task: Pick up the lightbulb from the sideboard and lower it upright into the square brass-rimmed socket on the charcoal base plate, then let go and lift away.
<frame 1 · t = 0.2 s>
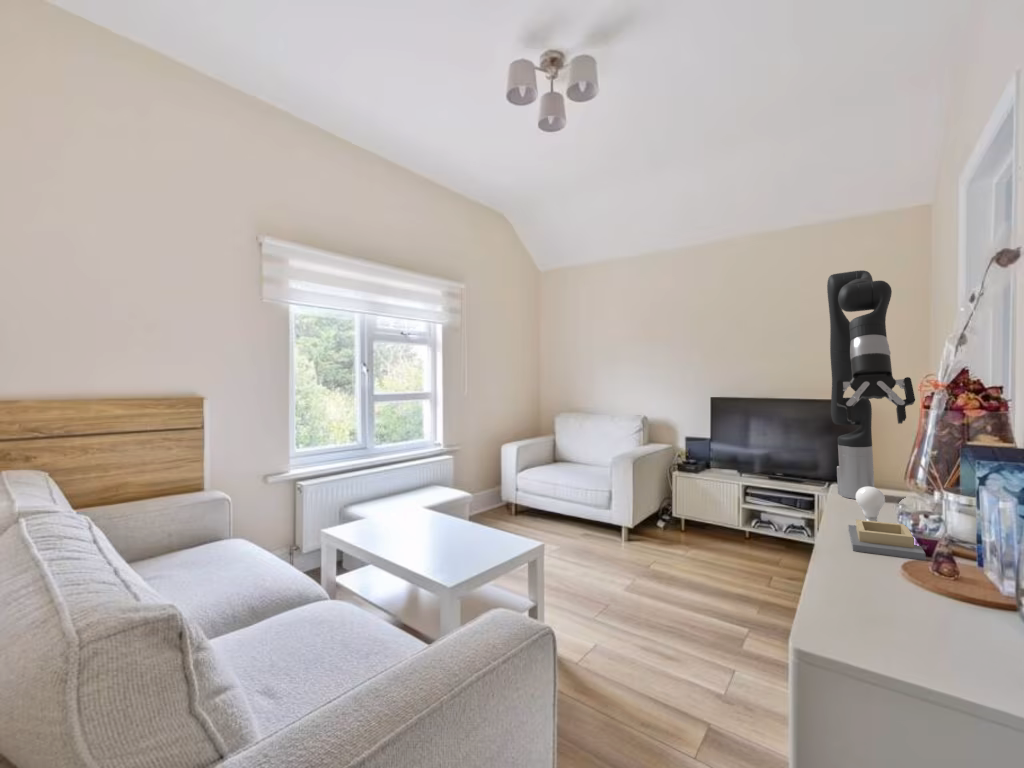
hand: (876, 423, 105), 31 cm above the sideboard, tool tilted 20°, fingers open, 8 cm apart
bulb socket: (883, 543, 111), on the sideboard
lightbulb: (871, 527, 123), on the sideboard
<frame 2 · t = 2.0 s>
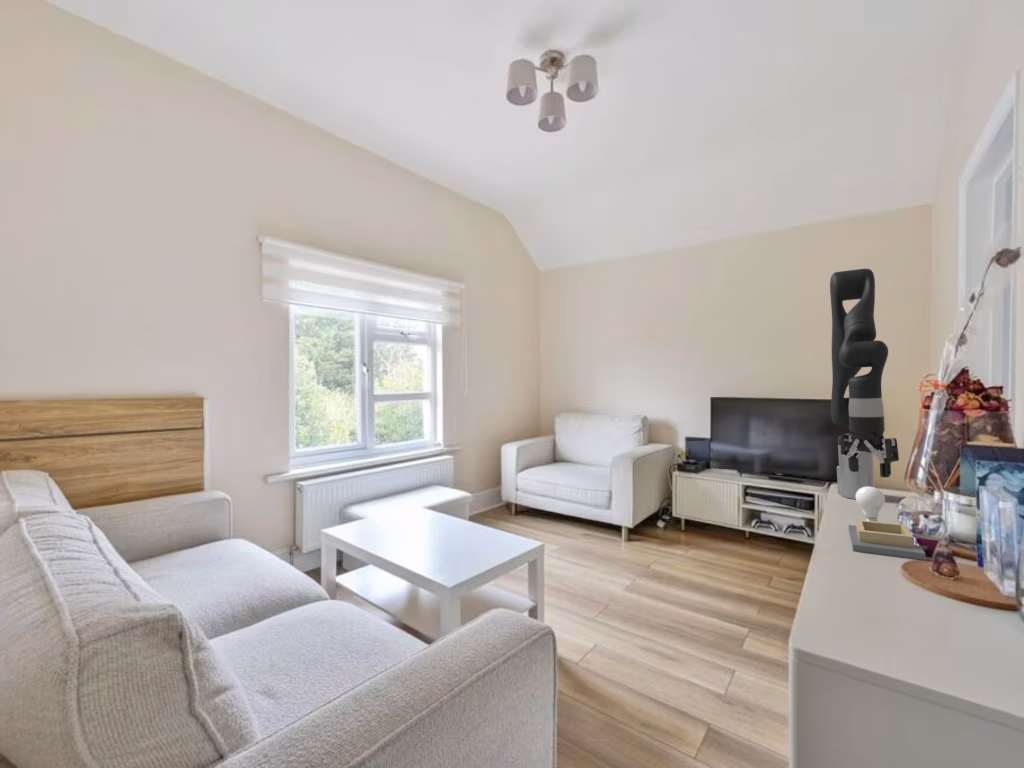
hand: (869, 474, 123), 14 cm above the sideboard, tool pointing down, fingers open, 8 cm apart
nothing on the sideboard moved.
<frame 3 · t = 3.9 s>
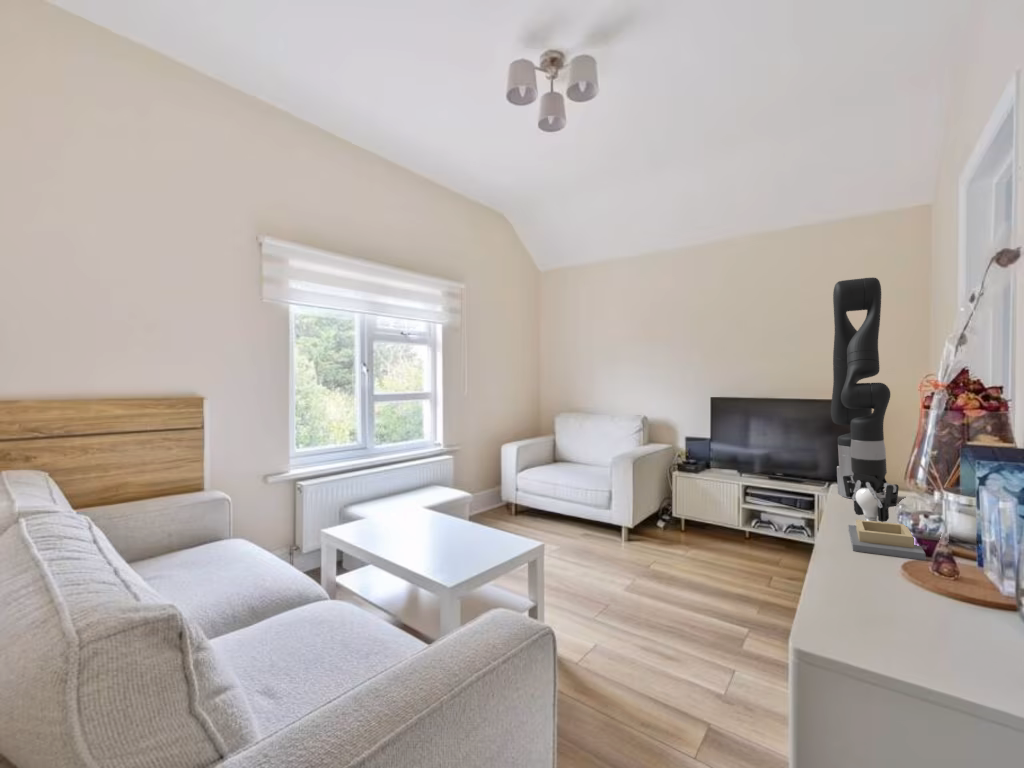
hand: (871, 517, 123), 3 cm above the sideboard, tool pointing down, fingers closed on lightbulb, 6 cm apart
lightbulb: (871, 527, 123), on the sideboard, touching gripper
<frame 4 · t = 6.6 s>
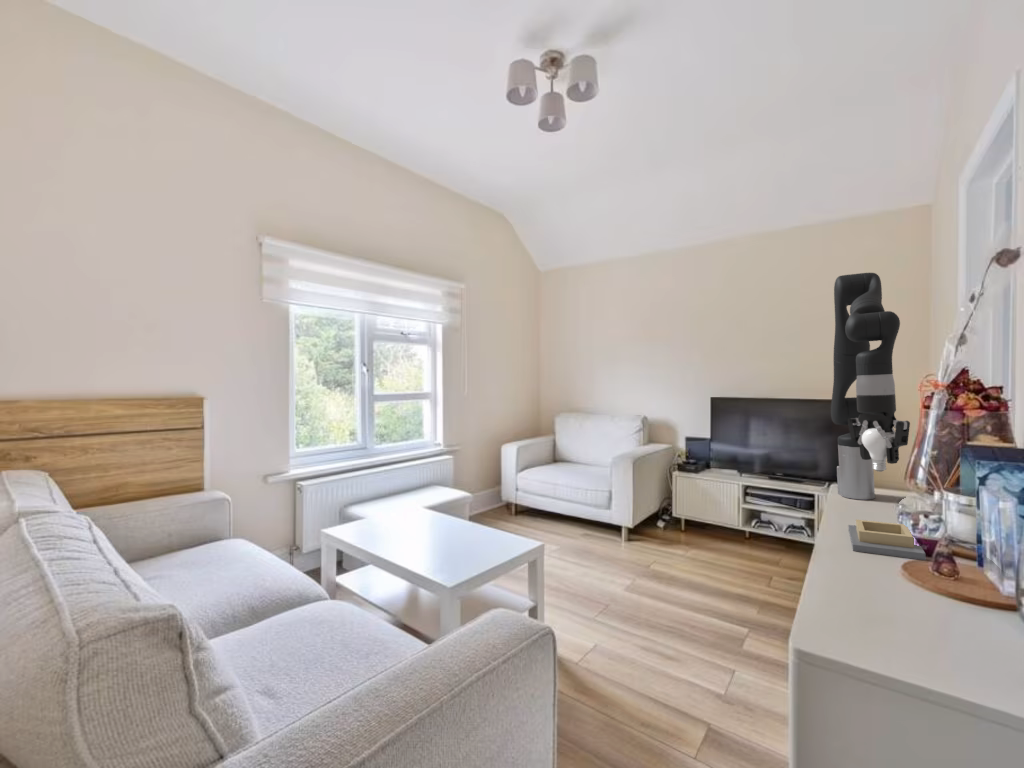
hand: (878, 461, 112), 20 cm above the sideboard, tool pointing down, fingers closed on lightbulb, 6 cm apart
lightbulb: (879, 472, 112), point 18 cm above the sideboard, touching gripper
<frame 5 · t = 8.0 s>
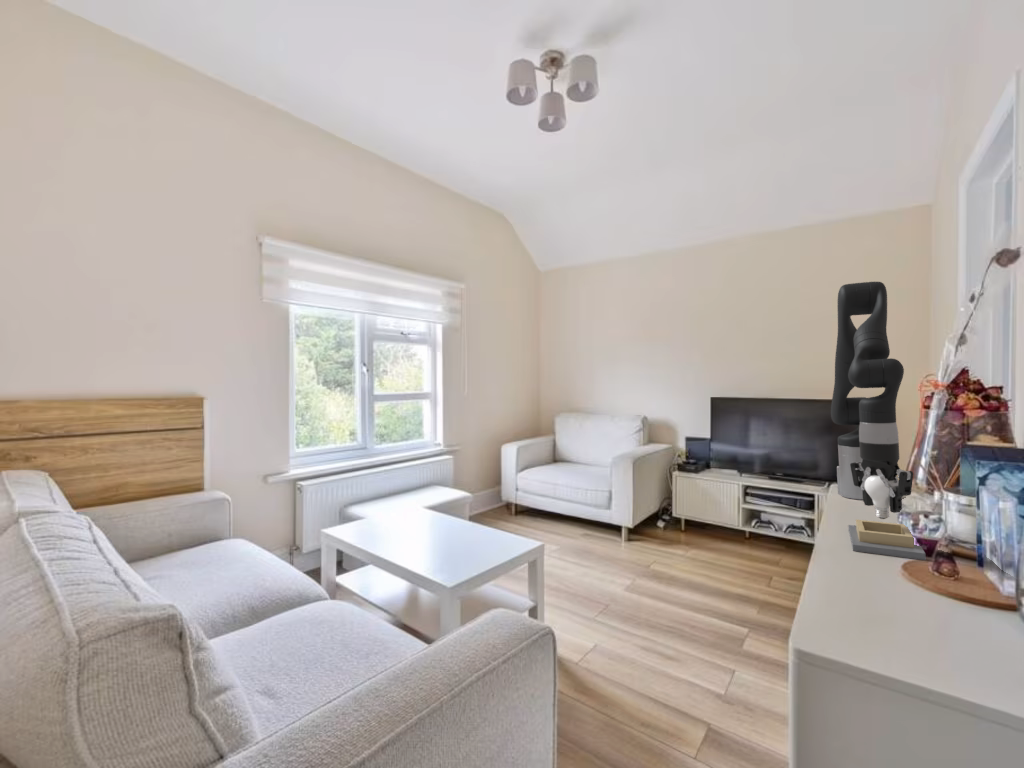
hand: (881, 508, 111), 9 cm above the sideboard, tool pointing down, fingers closed on lightbulb, 6 cm apart
lightbulb: (882, 519, 111), point 6 cm above the sideboard, touching gripper
when the fingers open (5 cm above the sideboard, at t = 9.1 s): lightbulb drops 1 cm, resting on bulb socket.
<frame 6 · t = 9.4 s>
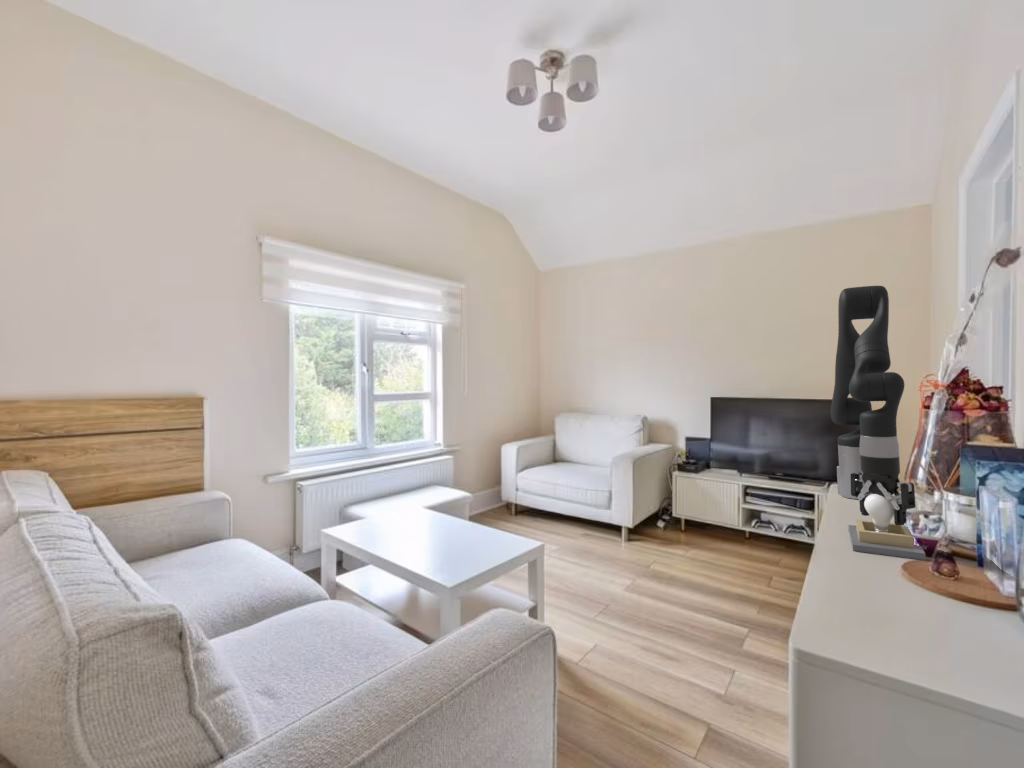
hand: (882, 519, 111), 6 cm above the sideboard, tool pointing down, fingers open, 8 cm apart
lightbulb: (881, 538, 112), point 1 cm above the sideboard, touching bulb socket
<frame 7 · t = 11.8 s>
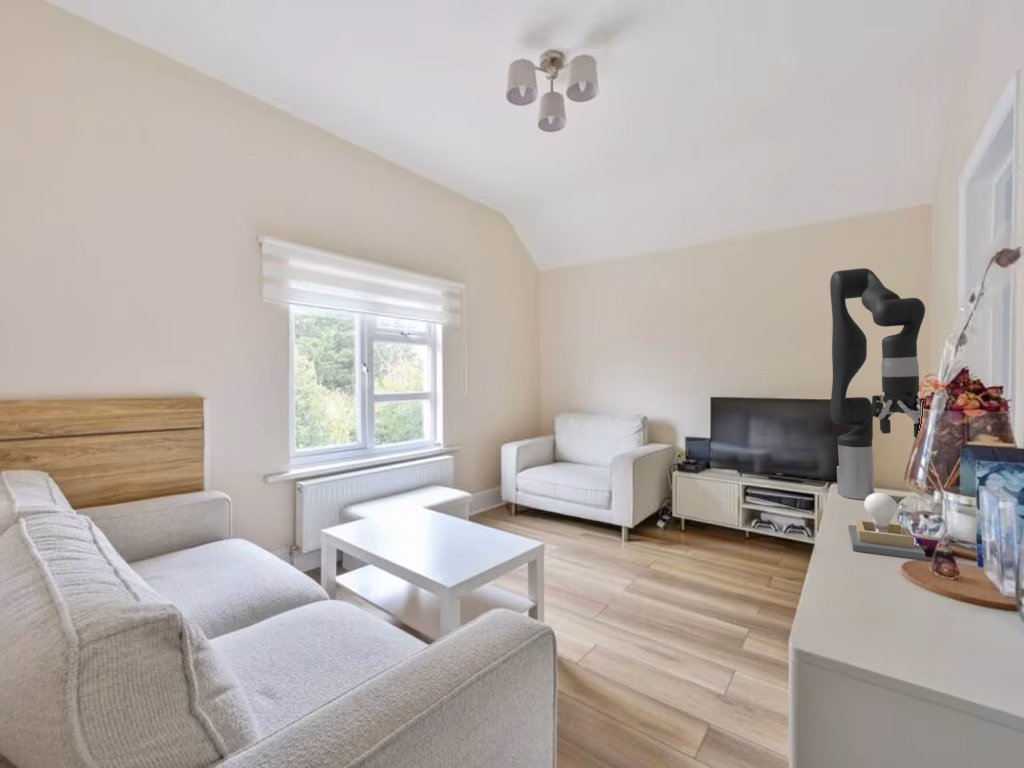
hand: (901, 435, 121), 25 cm above the sideboard, tool pointing down, fingers open, 8 cm apart
nothing on the sideboard moved.
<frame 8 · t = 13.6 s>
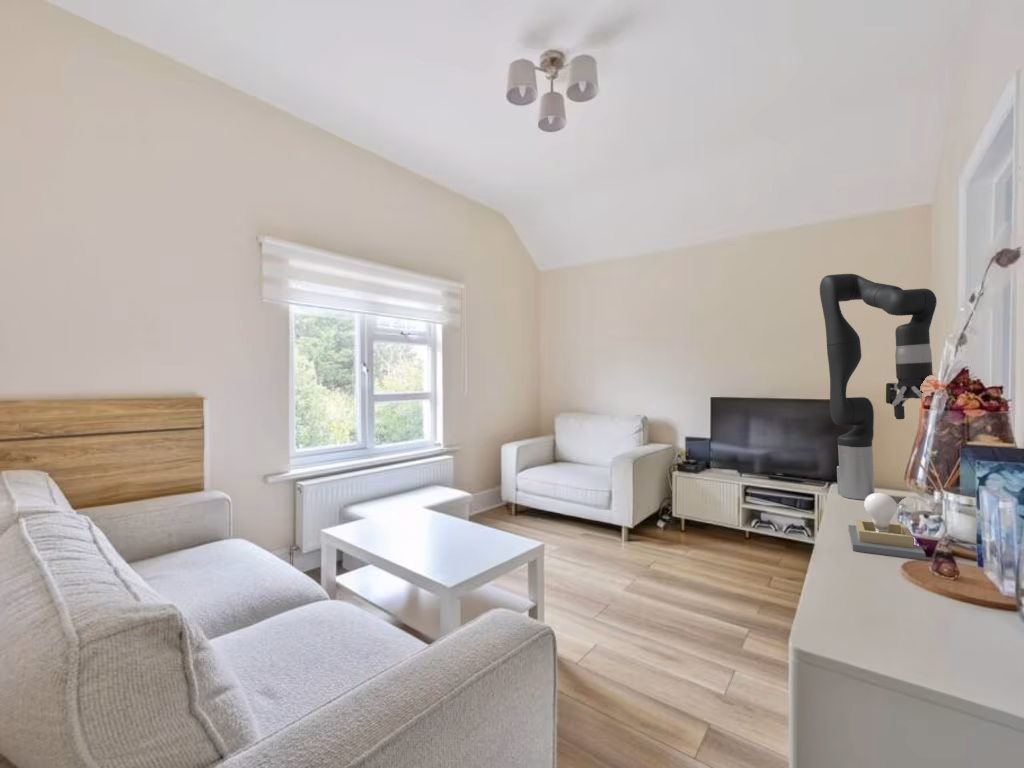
hand: (916, 420, 125), 28 cm above the sideboard, tool pointing down, fingers open, 8 cm apart
nothing on the sideboard moved.
at the end: lightbulb 0.3 cm off-centre on the bulb socket, point 1.3 cm above the bulb socket's base; lightbulb tilted 0°; the gripper is holding nothing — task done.
